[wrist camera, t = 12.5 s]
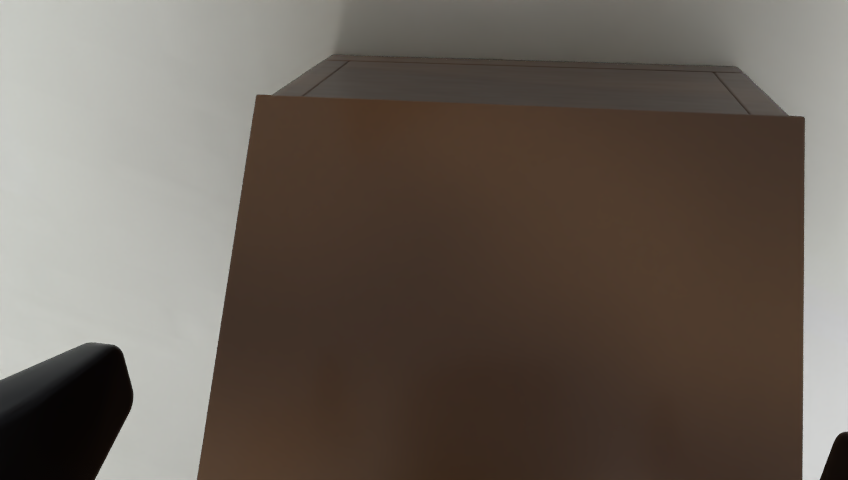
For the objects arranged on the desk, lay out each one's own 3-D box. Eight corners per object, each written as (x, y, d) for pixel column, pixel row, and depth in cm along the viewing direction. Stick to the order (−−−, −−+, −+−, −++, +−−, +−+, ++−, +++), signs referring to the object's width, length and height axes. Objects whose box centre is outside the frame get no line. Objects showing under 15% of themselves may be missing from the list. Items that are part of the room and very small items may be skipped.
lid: (783, 790, 12) (937, 1047, 7) (183, 671, 14) (19, 818, 9) (790, 129, 14) (914, 18, 10) (268, 107, 16) (167, 6, 11)
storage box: (670, 398, 23) (694, 507, 19) (353, 363, 25) (311, 455, 21) (738, 66, 18) (791, 116, 14) (330, 54, 20) (269, 95, 16)
